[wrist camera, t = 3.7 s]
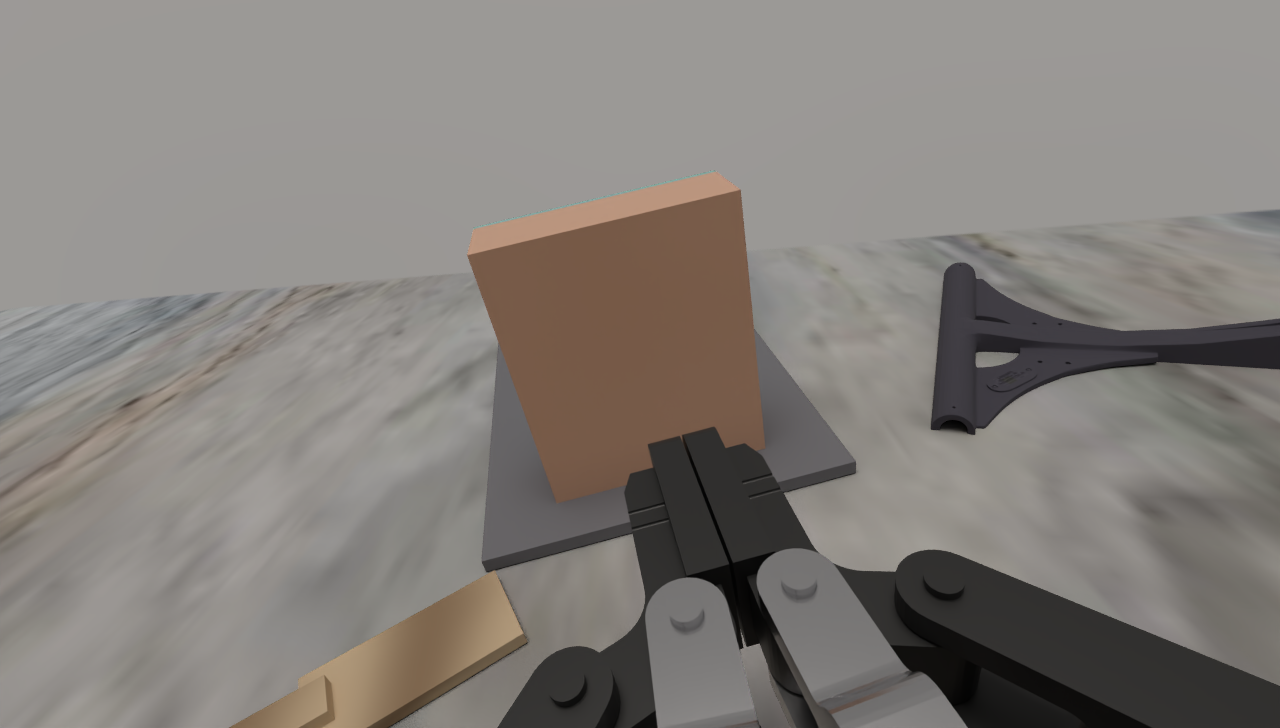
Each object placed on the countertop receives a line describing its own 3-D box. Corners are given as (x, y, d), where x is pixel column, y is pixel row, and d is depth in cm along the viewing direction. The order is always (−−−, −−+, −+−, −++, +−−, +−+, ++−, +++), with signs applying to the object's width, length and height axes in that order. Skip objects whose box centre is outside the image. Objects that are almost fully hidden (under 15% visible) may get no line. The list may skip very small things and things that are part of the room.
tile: (556, 503, 24) (467, 255, 19) (553, 457, 27) (473, 227, 21) (765, 448, 25) (740, 189, 19) (742, 408, 27) (714, 170, 22)
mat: (486, 572, 23) (481, 561, 22) (501, 344, 39) (499, 336, 39) (855, 472, 23) (855, 461, 23) (719, 290, 40) (718, 282, 39)
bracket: (1453, 510, 18) (1505, 442, 17) (929, 442, 25) (934, 389, 24) (1280, 297, 29) (1303, 244, 28) (942, 289, 36) (946, 246, 34)
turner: (69, 921, 15) (42, 908, 15) (98, 803, 18) (76, 787, 17) (527, 642, 20) (518, 624, 19) (498, 579, 22) (490, 561, 22)
